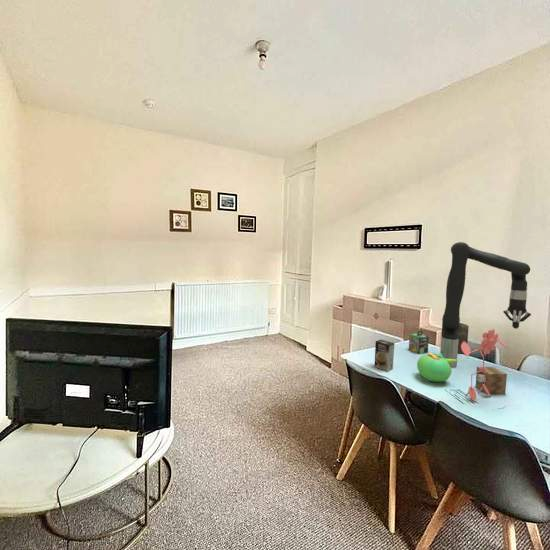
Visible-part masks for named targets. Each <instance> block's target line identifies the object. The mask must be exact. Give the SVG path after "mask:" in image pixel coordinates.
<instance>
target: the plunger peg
mask: <svg viewBox="0 0 550 550" xmlns="http://www.w3.org/2000/svg"><path fill="white" fill-rule="evenodd" d="M477 380H478V382H484V374H478V375H477ZM485 382H486V375H485Z"/></svg>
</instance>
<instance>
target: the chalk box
mask: <svg viewBox="0 0 550 550" xmlns="http://www.w3.org/2000/svg"><path fill="white" fill-rule="evenodd" d="M423 332H424V331H423V330H418V331H417V333H410V334H409V337H408V351H410V352H413V353H415V354H418V355H420V354H428V353H429V341H430V340H429V339H430V336H429V335H425V334H423Z"/></svg>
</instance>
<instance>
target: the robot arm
mask: <svg viewBox="0 0 550 550" xmlns="http://www.w3.org/2000/svg"><path fill="white" fill-rule="evenodd" d="M450 253H451V267H450V271H449V272H448V277H447V280H446V288H445V290H446V291H445V308H444V312H443V315H442V319H441V321H442V324H441V325H442V326H441V336H440V337H441V339H440V350H439V353H441V354H442V356H443V358H446V359H456V360H458V354H459V353H458V339H459V324H460V323H461V322H460V321H461V320H460V319H461V317H460V308H461V303H462V300H463V297H464V292H465V285H466V275H467V273H466V272H467V271H466V269H467V262H468V260H473V261H476V262H479V263H481V264H485V265H487V266H488V267H492V268H496V269H499V270H503V271H507V272H509V273H510V274H511V283H510V284H511V287H510V293H509V301H508V302H509V303H508V307H507V309H505V310H503V311H502V313H503V314H504V315H505V316H506V318H508V320H509V321H511V322H512V323H511V324H512V325H511V326H512V328H513V329H518V328H519V327H520V323H523V322H525V321H526V320H527V319H528V318H529V317H531V316H532V314H531V312H529V311H527V298H528V281H527V278H526V277H527V275H528V274H529V273H530V272H531V267H530V265H529V264H527V263H525V262H522V261H518V260H514V259H511V258H508V257H505V256H502V255H498V254H496V253H491V252H486V251H483V250H479V249H477V248H474V247H472V246H470V245H468V243H466V242H462V241H458V242H454V243H453V244H452V245H451V247H450ZM509 313H510V315H511V316H512V317H511V316H510V315H509ZM457 364H458V361H457V362H454V363H450V366H451V368H456V367H457V366H458V365H457Z"/></svg>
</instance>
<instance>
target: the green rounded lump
mask: <svg viewBox="0 0 550 550" xmlns="http://www.w3.org/2000/svg"><path fill="white" fill-rule="evenodd" d="M458 361H459V360H458V359H457V360H456V359H446V358H443V356H442V354H441V353H440V352H439V353H438V354H436V353H431V352H428V353H424V354H422V355H420V357H419V358H418V359H417V362H416V366H417V370H418V373H419V374H420V375H421V376H422V377H423V378H424V379H427V380H429V381H432V382H435V383H441V382H445V381H446V380H448V379H449V378H450V377H451V375H452V367H451V366H450V363H454V362H457V363H458Z"/></svg>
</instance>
